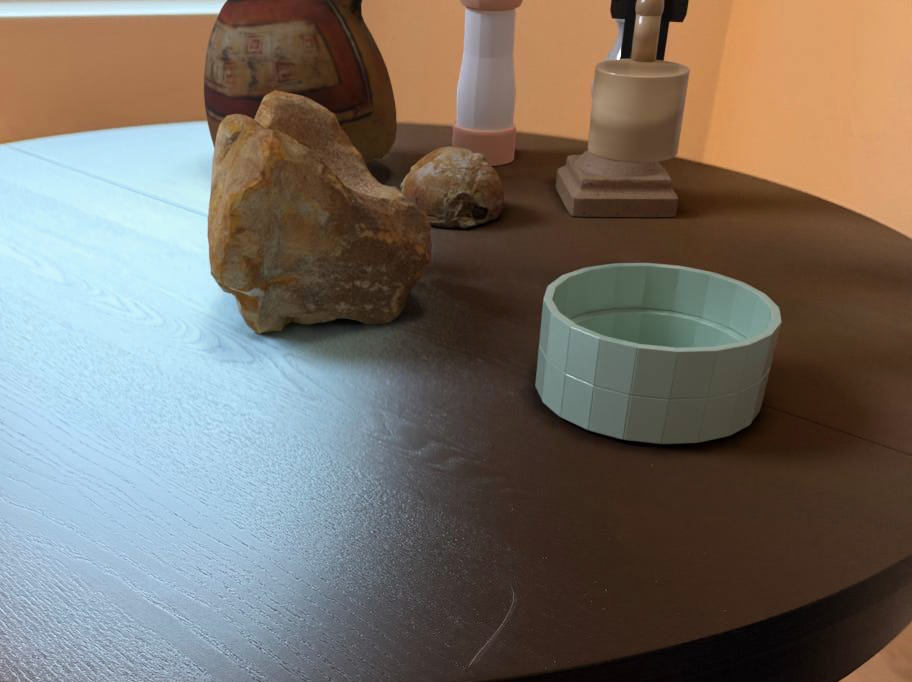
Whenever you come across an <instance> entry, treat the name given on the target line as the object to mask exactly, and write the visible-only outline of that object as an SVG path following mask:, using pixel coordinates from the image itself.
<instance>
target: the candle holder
mask: <svg viewBox="0 0 912 682" xmlns="http://www.w3.org/2000/svg"><path fill="white" fill-rule="evenodd" d="M614 20H615V23H616V26H617V36H616V39H615V41H614V43H613V45H612V47H611V49H610V51H609V53H608V54H607V55H606V57H605V58H604V60H603V61H608V60H615V59H620V54H621V46H622V38H623V30H624V22H625V19H614ZM593 86H594V78H592V81H591V85H590V95H591V97H592V96H593ZM672 183H673V180H672V177H671V176H670V174H669V173H668V171H667V170H666V169H665V168H664V166H662V164H660V161H659V162H648V163H633V162H621V161H614V160H608V159H604V158H601V157H598V156H595V155H593V154H592V153H590V152H589V151H588V149H587V150H585V151H584V152H583V153H582V154H581V153H580V154H569V155H568V156H567V157H566V161H565V165H564V166H560V167H558V168H557V170H556V178H555V190H556V192H557V193H558V196H559V197H560V199H561V201H562V203H563V205H564V207H565V208H566V211H567V212H568V213H569V215H570V216H571V217H577V218H579V217H580V218H581V217H583V218H674V217H677V211H678V204H679V197H678V196H679V195H677V193H676V191H674V189H673V187H672Z"/></svg>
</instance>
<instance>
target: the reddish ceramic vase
mask: <svg viewBox="0 0 912 682" xmlns="http://www.w3.org/2000/svg"><path fill="white" fill-rule="evenodd" d="M362 3H363V0H226V1H225V2H224V4H223V6H222V7H221V8H220V10H219V13H218V15H217V17H216V20H215V21H214V23H213V26H212V30H211V31H210V35H209V39H208V42H207V46H206V53H205V62H204V69H203V100H204V109H205V114H206V121H207V126H208V130H209V135H210V138H211V141H212V145H213V149H215V142H216V136H217V131H218V128H219V125H220V123H221V122H222V121H223V119H224V118H225V117H226V116H228V115H232V114H241V115H246V116H248V117H250V118H252V119H254V118H255V116H256V114H257V111H258V109H259V107H260V104H261V102H262V100H263V98H264V96H266V95H267V94H269V93H271V92H273V91H274V90H275V91H281V92H287V93H292V94H296V95H300V96H304V97H306V98H309V99H311V100H313V101H315V102H316V103H318V104H320V105H322V106H323V107H325V108H327V109H328V110H329V111H330V112H332V113H335V115H336V118H337V120H338V123H339V126H340V127H341V128H342V129H343V131H344V132H345V133H346V134H347V135H348V136H349V138H350V140H351V142H352V144H353V146H354V147H355V148H356V149H357V150H358V151H359V152H360V153H361V155H362V157H363V159H364V161H365V164H366V165H368V164H369V163H372V162H373V161H376V160H379V159H383V158H384V157H385V156H386V155H387V154H389V153H390V151H391V150H392V149H393V146H394V144H395V142H396V138H397V130H398V126H397V125H398V124H397V122H398V121H397V107H396V100H395V96H394V95H395V93H394V90H393V85H392V81H391V77H390V74H389V70H388V66H387V64H386V62H385V60H384V58H383V55H382V52H381V51H380V48H379V46H378V44H377V42H376V40H375V38H374V35H373V34H372V33H371V31H370V29H369V27H368V26H367V23H366V22H365V20H364V17H363V14H362V13H363V11H362Z"/></svg>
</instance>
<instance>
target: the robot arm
mask: <svg viewBox="0 0 912 682" xmlns="http://www.w3.org/2000/svg"><path fill="white" fill-rule="evenodd" d="M636 1H637V0H610V8H609V11H610V17H611V19H613V20H615V19H625V22H624V30H623V38H622V46H621V54H620V59H630V57H631V49H632V42H633V34H634V26H635V19H636V10H635V8H636ZM689 1H690V0H664V10H663V13H662V15H661V22H660V30H659V38H658V45H657V53H656V60H662V61H665V54H666V47H667V43H668V42H667V41H668V34H669V30H670V29H669V28H670V23H681V24H682V23H684V20H686V18H687V14H688V9H689Z"/></svg>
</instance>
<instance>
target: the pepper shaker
mask: <svg viewBox="0 0 912 682" xmlns="http://www.w3.org/2000/svg"><path fill="white" fill-rule="evenodd" d="M523 1H524V0H460V3H461V5H462V6H464V7H465V9H464V10H465V12H464V32H463V33H464V34H463V51H462V52H463V53H462V59H461V64H460V70H459V75H458V82H457V87H456V120H455V122H454V123H453V124H452V139H451V141H452V143H451V146H452V147H461V148H465V149H468V150H471V151H472V152H474V153H480V154H482V155H483V156H484V157H485V159H486V162H487V163H488V164H489V165H490V166H492V167H495V166H503V165H507V164H510V163H512V162H513V161H514V160H515V151H516V138H517V137H516V136H517V127H516V124H515V123H514V117H515V107H516V106H515V105H516V97H517V91H516V90H517V89H516V76H515V75H516V73H515V62H514V61H515V60H514V59H515V58H514V48H515V28H516V13H517V11H516V9H517V8H520V7H521V5H522V3H523Z"/></svg>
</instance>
